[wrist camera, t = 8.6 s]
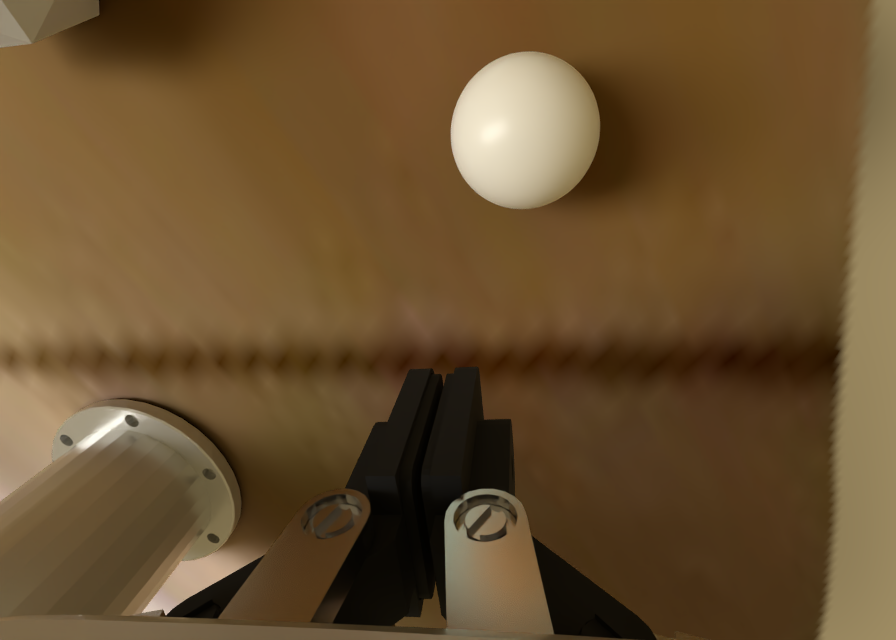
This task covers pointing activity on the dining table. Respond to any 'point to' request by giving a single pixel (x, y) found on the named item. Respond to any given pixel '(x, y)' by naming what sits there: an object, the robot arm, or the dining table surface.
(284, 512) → the dining table surface
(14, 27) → the die
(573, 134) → the cue ball
